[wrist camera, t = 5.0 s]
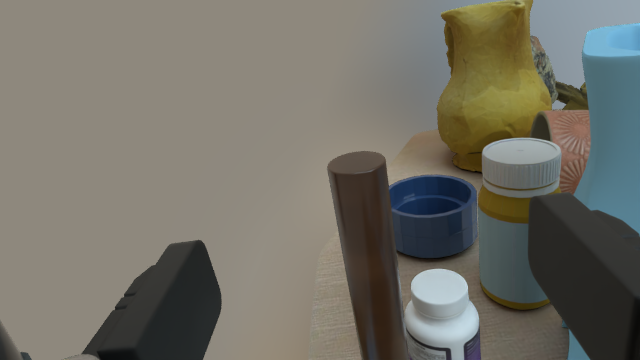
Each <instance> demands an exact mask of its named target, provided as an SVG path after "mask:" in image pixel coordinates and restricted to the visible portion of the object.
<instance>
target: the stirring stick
mask: <svg viewBox="0 0 640 360" xmlns="http://www.w3.org/2000/svg"><path fill="white" fill-rule="evenodd" d="M327 170H328V175H329V181H330V187H331V192H332V198H333V203H334V209H335V214H336V219H337V225H338V231H339V236H340V242H341V247H342V253H343V258H344V264H345V269H346V275H347V281H348V286H349V292H350V297H351V303H352V308H353V314H354V319H355V325H356V330H357V336H358V341H359V347H360V352H361V358H362V360H409V353H408V344H407V336H406V328H405V319H404V311H403V302H402V294H401V286H400V277H399V269H398V260H397V252H396V243H395V235H394V227H393V218H392V210H391V201H390V193H389V184H388V176H387V168H386V160H385V157H384V156H383V155H382V154H380V153H376V152H368V151H361V152H353V153H348V154H345V155H341V156H339V157H337V158H335V159H333V160H332V161H330V162H329V164H328V166H327Z"/></svg>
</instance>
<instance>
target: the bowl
mask: <svg viewBox="0 0 640 360" xmlns="http://www.w3.org/2000/svg"><path fill="white" fill-rule="evenodd" d="M389 193H390V201H391V210H392V218H393V227H394V235H395V243H396V250H398V251H400V252H402V253H404V254H407V255H411V256H415V257H420V258H440V257H446V256H451V255H453V254H456V253H459V252H462V251H464V250H465V249H467V248H468V247H469V246H471V245H472V244H473V243H474V241H475V240H476V238H477V236H478V232H477V191H476V189H475V188H474V187H473V185H472V184H470V183H469V182H467V181H465V180H463V179H460V178H456V177H453V176H446V175H421V176H414V177H410V178H406V179H403V180H400V181H397V182H396V183H394V184H392V185H390V186H389Z"/></svg>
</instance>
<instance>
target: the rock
mask: <svg viewBox="0 0 640 360" xmlns="http://www.w3.org/2000/svg"><path fill="white" fill-rule="evenodd" d="M530 40H531V48H532V56H533V61H534V65H535V68H536V71H537V72H538V74H539V76H540V78H541V79H542V81H543V82H544V84H545V85H546V87H547V88H548V91H549V93H550V97H551V102H552V104H553V103H554V102H555V100H556V99H557V97H558V93H557V91H556V89H555V76H554V73H553V70H552V65H551V63H550V61H549V58H548V56H547V55H546V53H545V50H544V49H543V48H542V46H541V44H540V42H539V40H538V38H537V37H535V36H530Z"/></svg>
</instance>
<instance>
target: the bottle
mask: <svg viewBox="0 0 640 360" xmlns="http://www.w3.org/2000/svg"><path fill="white" fill-rule="evenodd" d="M561 154H562V153H561V149H560V147H559V146H558V145H556V144H555V143H552V142H550V141H546V140H542V139H535V138H511V139H504V140H499V141H496V142H493V143H491V144H489V145H487V146H486V147H485V148H484V149H483V152H482V173H483V185H482V188H481V190H480V193H479V197H478V227H479V269H480V284H481V287H482V289H483V291H484V292H485V293H486V294H487V295H488V296H489V297H490V298H492V299H493V300H494V301H496V302H498V303H499V304H501V305H503V306H506V307H509V308H512V309H520V310H528V309H535V308H539V307H542V306H544V305H546V304H548V303H549V302H550V300H549V299H548V298H547V296H546V295H545V293H544V292H543V290H542V289H541V287H540V286H539V284H538V283H537V281H536V280H535V278H534V276H533V274H532V272H531V269H530V265H529V260H528V223H529V203H530V200H531V198H532V197H533V196H540V195H548V194H555V193H561V190H560V187H559V179H560V176H559V175H560V170H561Z"/></svg>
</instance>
